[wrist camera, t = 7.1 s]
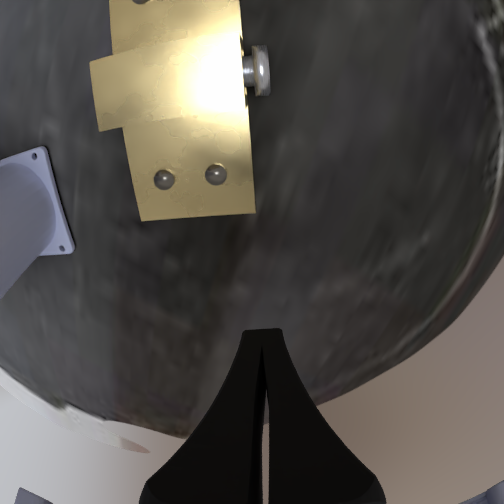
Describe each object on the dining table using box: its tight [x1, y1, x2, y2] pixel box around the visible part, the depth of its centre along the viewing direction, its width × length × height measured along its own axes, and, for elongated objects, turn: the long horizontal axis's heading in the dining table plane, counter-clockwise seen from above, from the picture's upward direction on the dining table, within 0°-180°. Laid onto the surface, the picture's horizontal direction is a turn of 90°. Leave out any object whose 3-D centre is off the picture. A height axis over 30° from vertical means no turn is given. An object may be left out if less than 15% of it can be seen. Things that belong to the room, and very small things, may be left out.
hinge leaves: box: [90, 0, 256, 221], centre depth 13 cm, size 7×16×3 cm, turn 4°
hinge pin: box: [242, 45, 270, 96], centre depth 13 cm, size 9×3×3 cm, turn 94°
